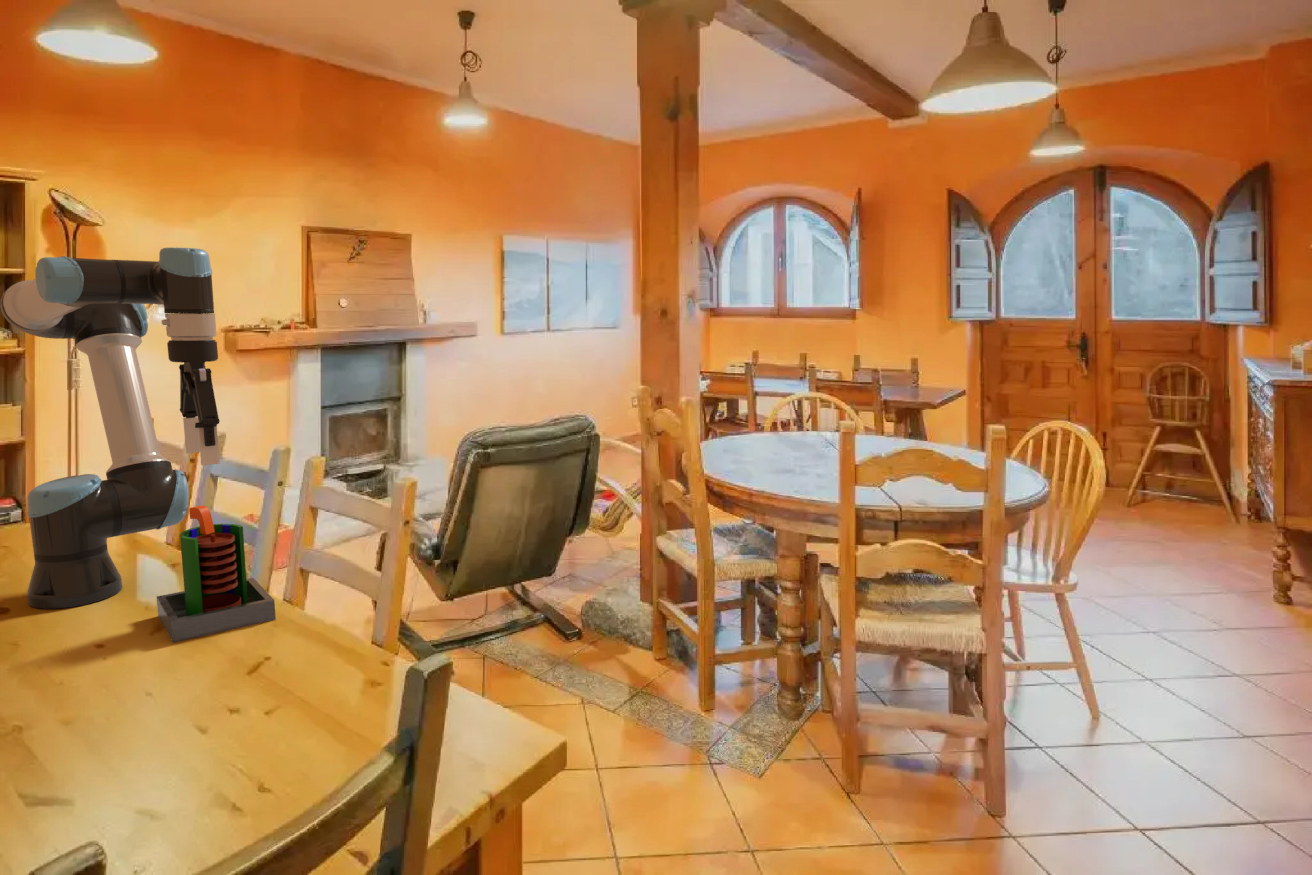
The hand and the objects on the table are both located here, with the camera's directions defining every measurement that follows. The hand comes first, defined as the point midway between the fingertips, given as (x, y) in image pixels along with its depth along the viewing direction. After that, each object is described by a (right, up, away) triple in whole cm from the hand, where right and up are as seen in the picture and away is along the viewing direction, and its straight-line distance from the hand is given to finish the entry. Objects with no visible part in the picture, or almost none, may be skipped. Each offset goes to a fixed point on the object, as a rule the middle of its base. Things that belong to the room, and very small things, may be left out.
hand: (202, 458), depth 141 cm
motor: (-1, -29, +5) cm, 29 cm away
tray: (0, -30, +5) cm, 30 cm away
